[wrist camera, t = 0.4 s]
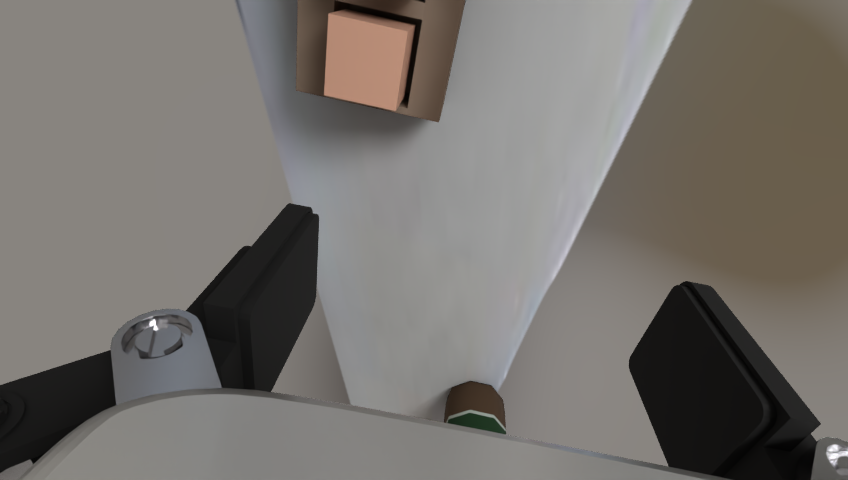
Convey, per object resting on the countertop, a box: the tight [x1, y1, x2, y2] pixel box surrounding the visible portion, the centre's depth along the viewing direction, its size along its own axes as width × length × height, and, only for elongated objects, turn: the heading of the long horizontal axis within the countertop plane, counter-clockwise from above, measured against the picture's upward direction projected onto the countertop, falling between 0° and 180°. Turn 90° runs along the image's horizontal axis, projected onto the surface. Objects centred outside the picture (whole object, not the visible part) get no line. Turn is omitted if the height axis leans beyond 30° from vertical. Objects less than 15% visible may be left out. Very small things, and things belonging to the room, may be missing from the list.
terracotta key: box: [324, 9, 416, 111], centre depth 29 cm, size 5×5×4 cm
